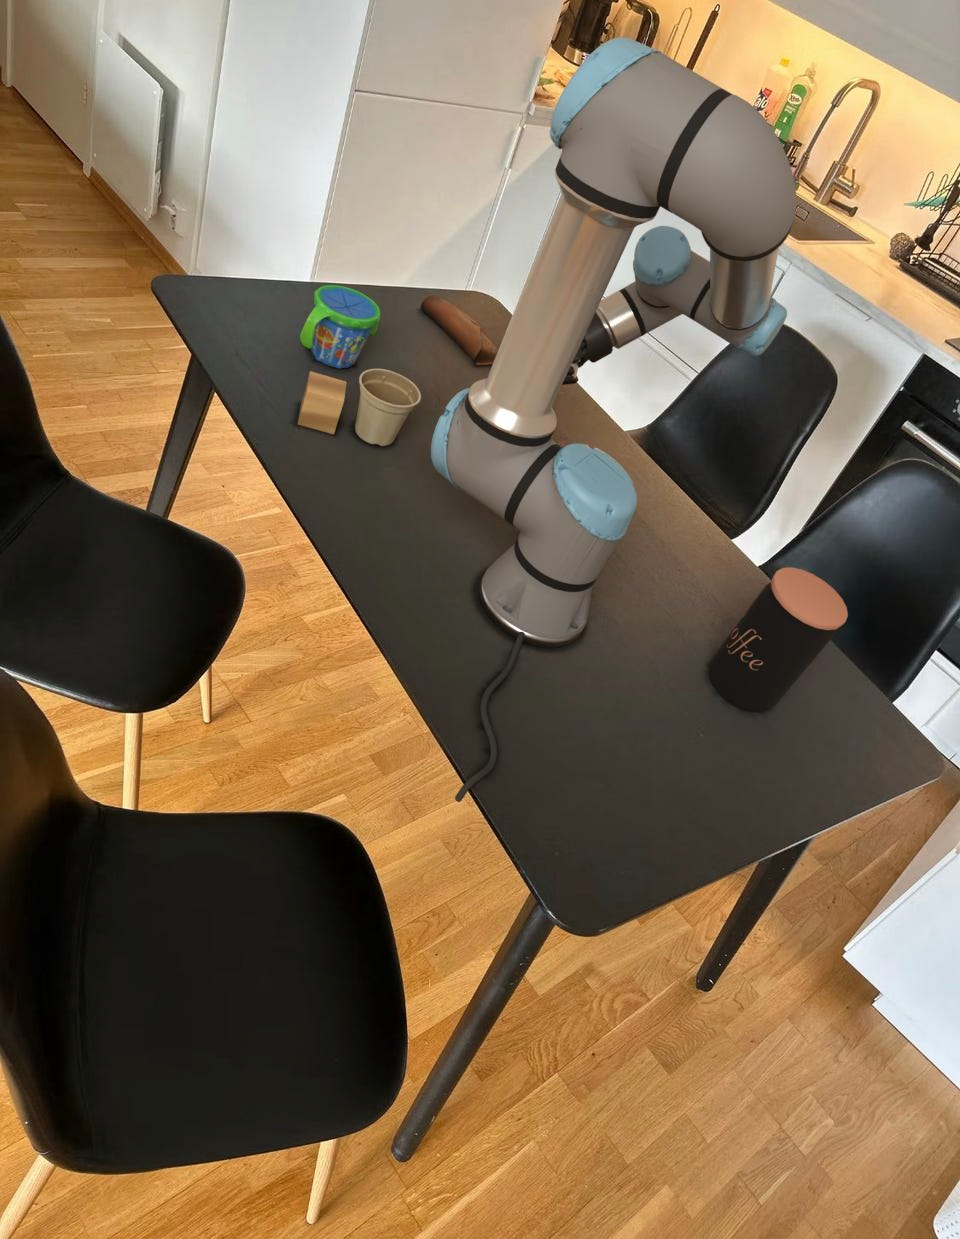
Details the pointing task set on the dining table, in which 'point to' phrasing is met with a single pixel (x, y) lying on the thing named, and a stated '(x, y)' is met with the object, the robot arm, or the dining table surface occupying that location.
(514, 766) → the dining table surface
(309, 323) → the snack cup
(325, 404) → the maple block
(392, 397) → the flower pot
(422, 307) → the sunglasses case
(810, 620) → the coffee jar
